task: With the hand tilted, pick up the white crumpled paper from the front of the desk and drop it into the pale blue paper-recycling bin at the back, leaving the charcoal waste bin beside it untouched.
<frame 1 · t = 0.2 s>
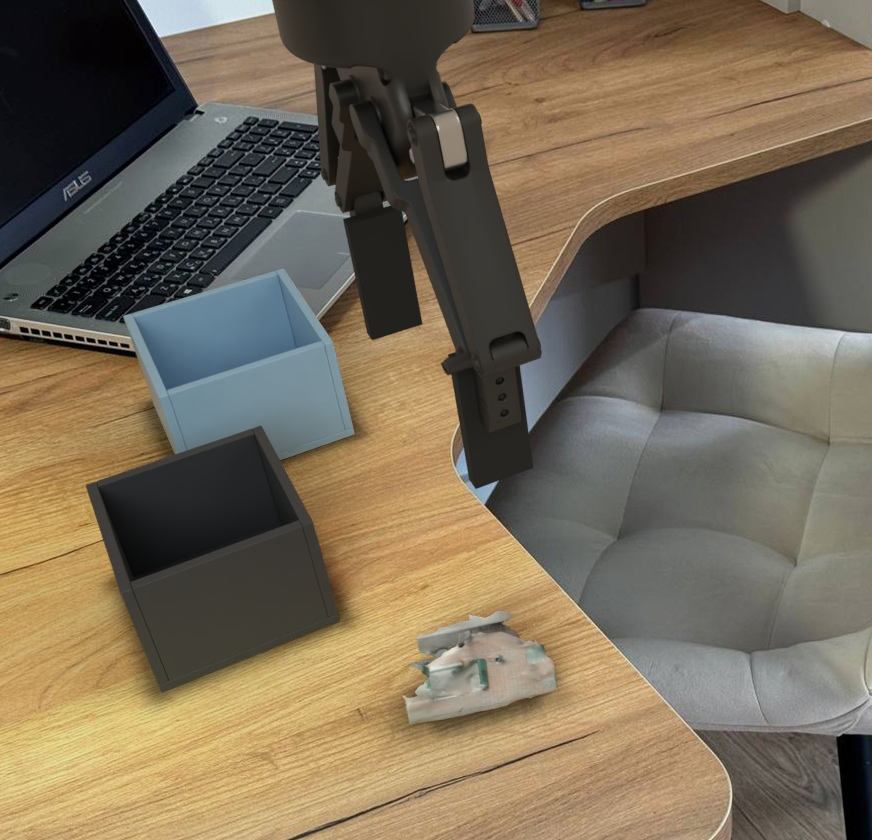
hand: (444, 396, 61), 18 cm above the table, tool pointing down, fingers open, 13 cm apart
waste bin: (229, 601, 77), on the table
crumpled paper: (480, 691, 70), on the table
paper bin: (252, 420, 91), on the table
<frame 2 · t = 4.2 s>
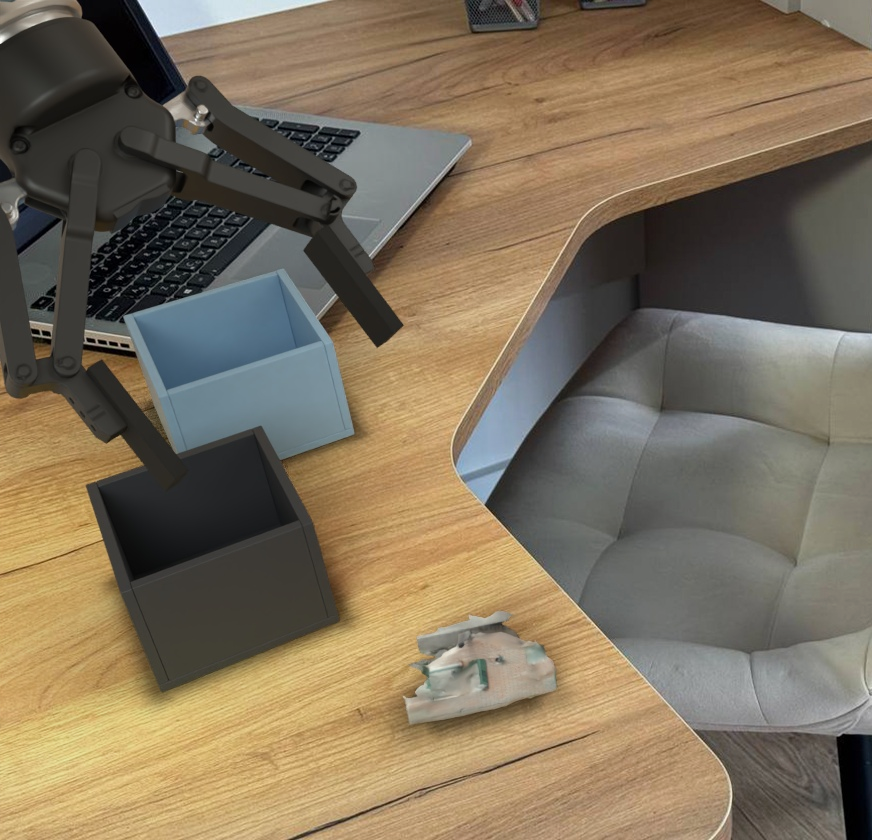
hand: (290, 406, 66), 15 cm above the table, tool tilted 45°, fingers open, 13 cm apart
nothing on the table moved.
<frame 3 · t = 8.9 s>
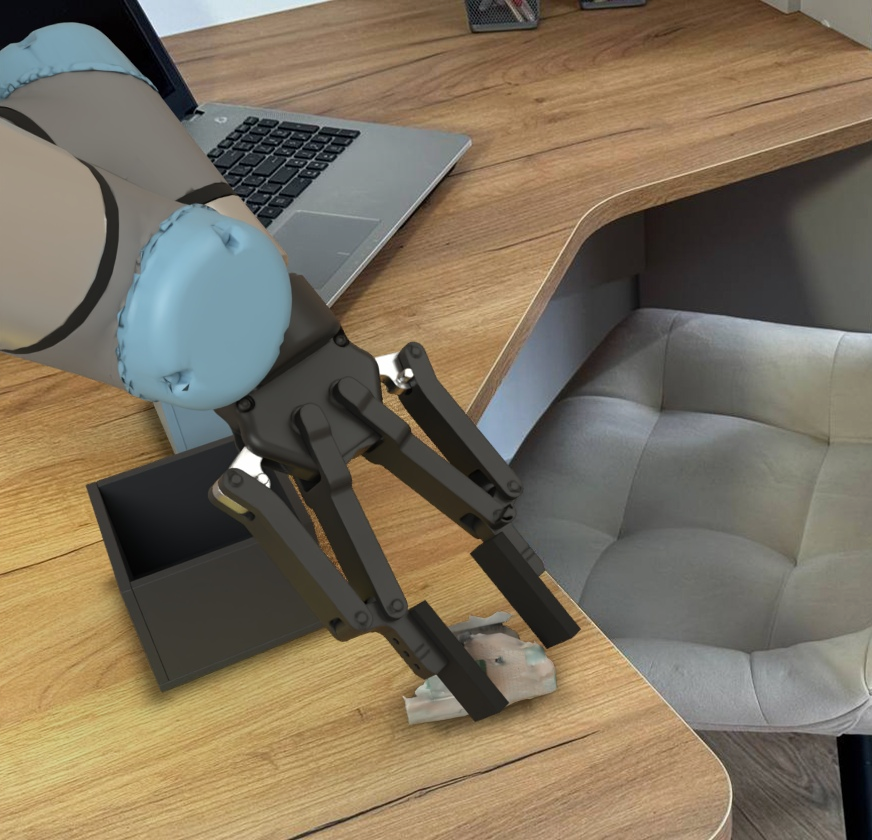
hand: (528, 674, 66), 3 cm above the table, tool tilted 45°, fingers closed on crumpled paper, 5 cm apart
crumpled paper: (481, 692, 70), on the table, touching gripper
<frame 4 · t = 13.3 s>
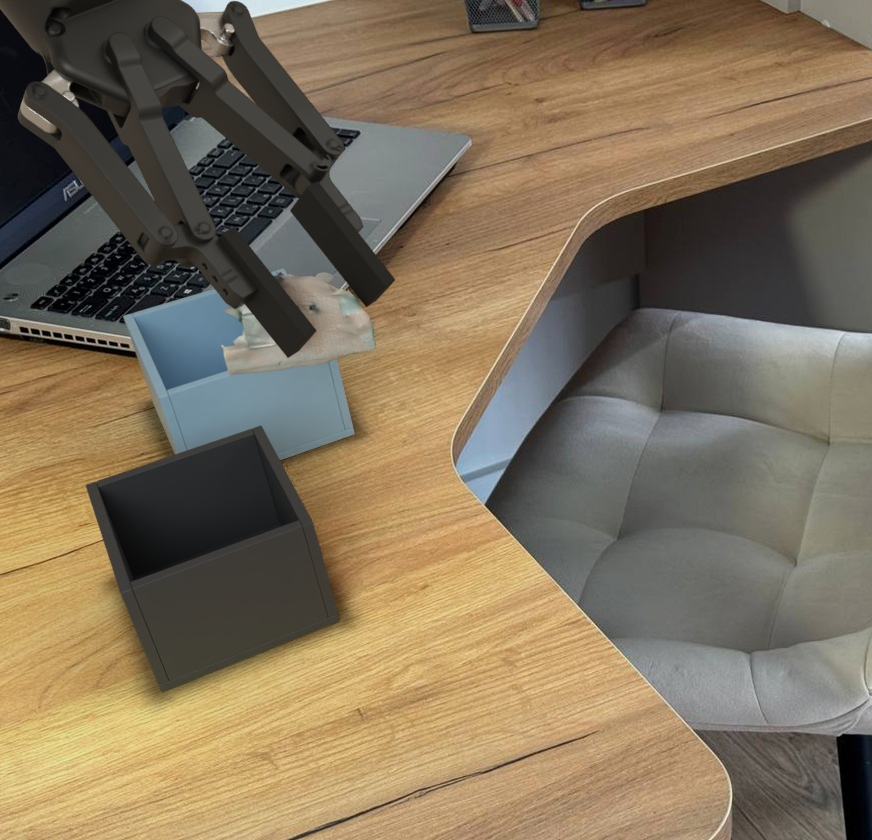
hand: (341, 317, 68), 17 cm above the table, tool tilted 45°, fingers closed on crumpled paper, 5 cm apart
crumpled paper: (305, 354, 72), point 14 cm above the table, touching gripper
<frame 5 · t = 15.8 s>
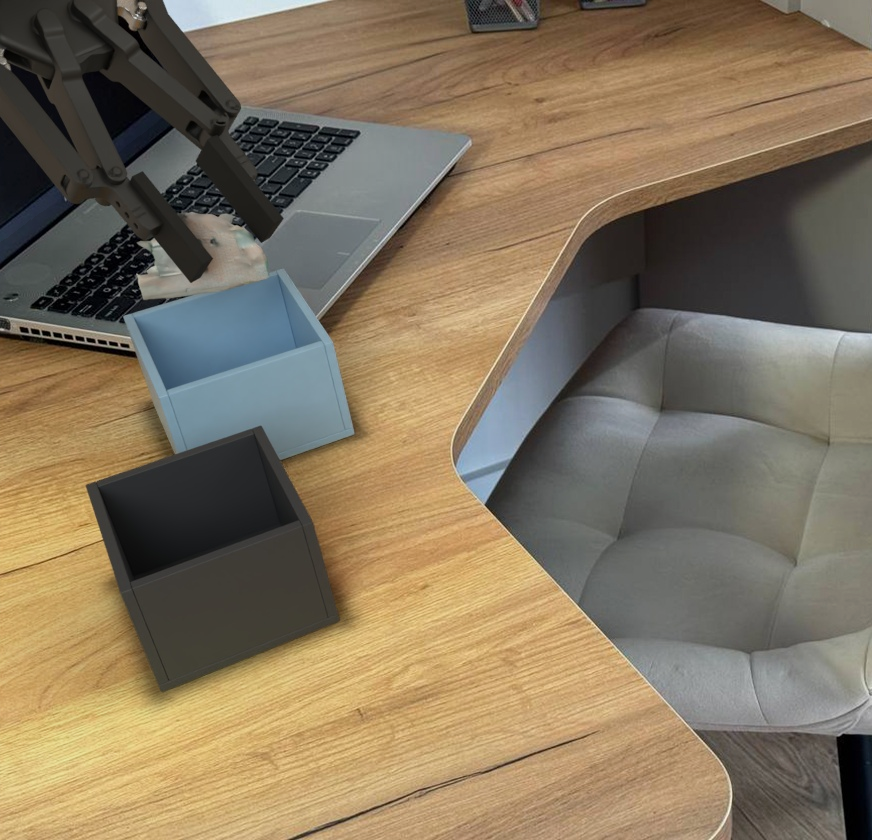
hand: (237, 249, 80), 15 cm above the table, tool tilted 45°, fingers closed on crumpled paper, 5 cm apart
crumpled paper: (210, 284, 84), point 11 cm above the table, touching gripper
when the fingers open (9 cm above the table, at t = 18.2 s): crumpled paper stays where it is, resting on paper bin.
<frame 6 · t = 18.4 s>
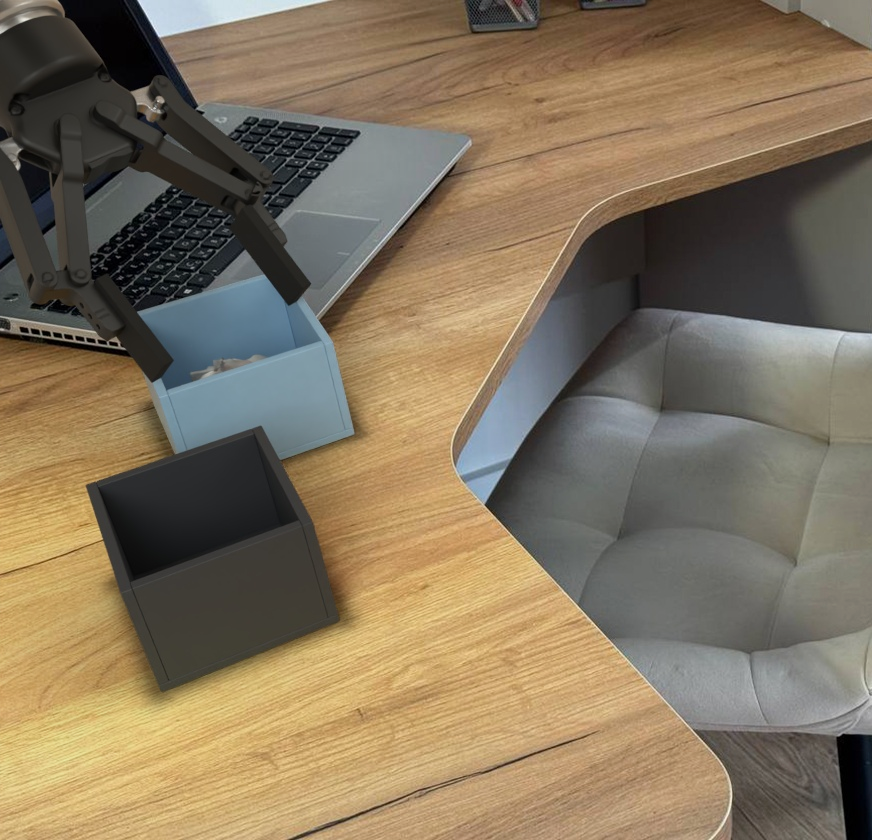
hand: (234, 331, 83), 9 cm above the table, tool tilted 45°, fingers open, 10 cm apart
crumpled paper: (243, 419, 90), resting on paper bin
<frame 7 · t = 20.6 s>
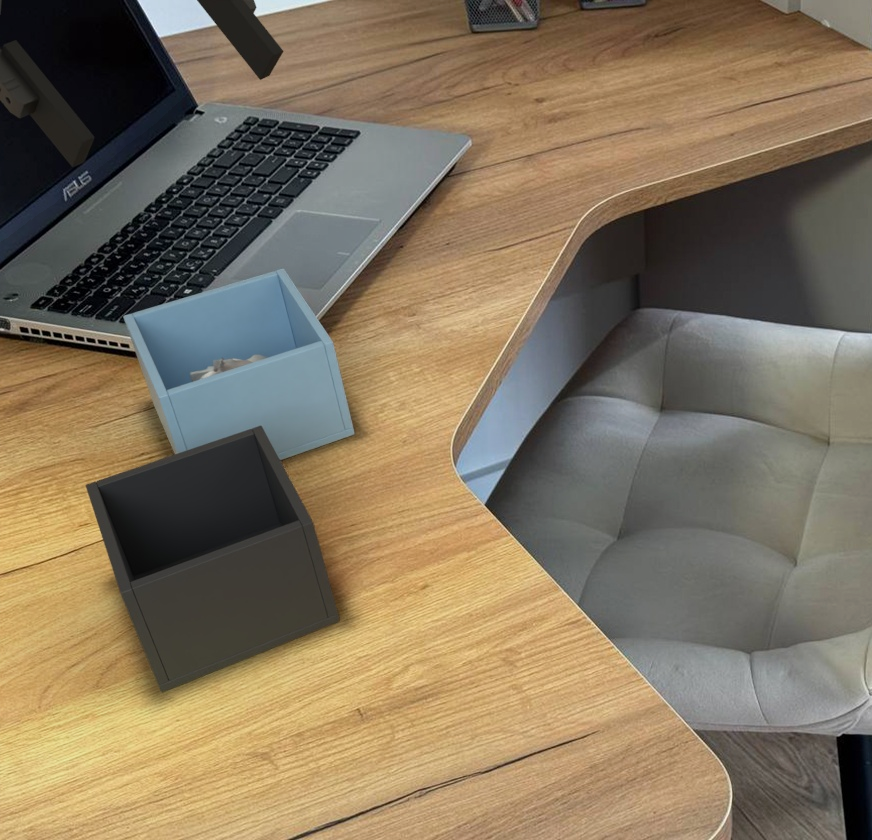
hand: (183, 107, 76), 24 cm above the table, tool tilted 45°, fingers open, 13 cm apart
nothing on the table moved.
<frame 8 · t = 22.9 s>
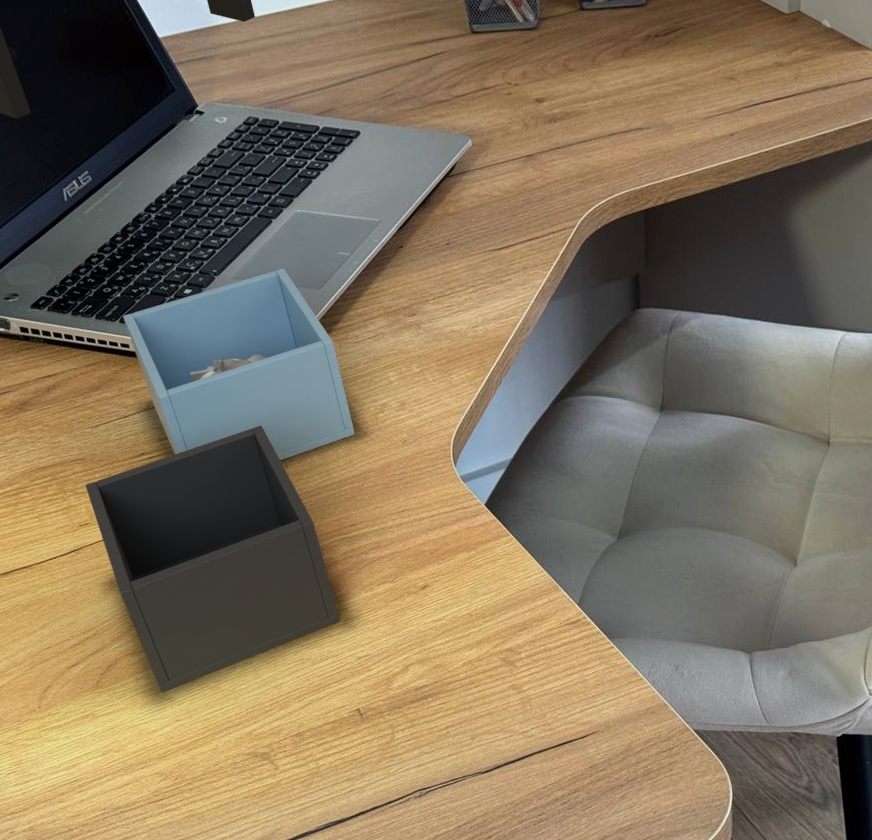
hand: (127, 60, 65), 30 cm above the table, tool pointing down, fingers open, 13 cm apart
nothing on the table moved.
at the end: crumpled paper inside the target area in the paper bin (0.6 cm from its centre), point 0.4 cm above the paper bin's base; the gripper is holding nothing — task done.
